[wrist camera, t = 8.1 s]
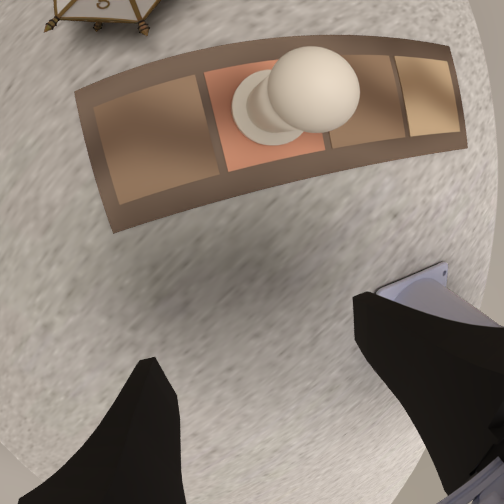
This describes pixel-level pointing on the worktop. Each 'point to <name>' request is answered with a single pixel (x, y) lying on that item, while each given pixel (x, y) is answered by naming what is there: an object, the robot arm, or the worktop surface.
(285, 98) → the pawn
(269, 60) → the board
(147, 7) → the game die
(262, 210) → the worktop surface
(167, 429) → the robot arm
